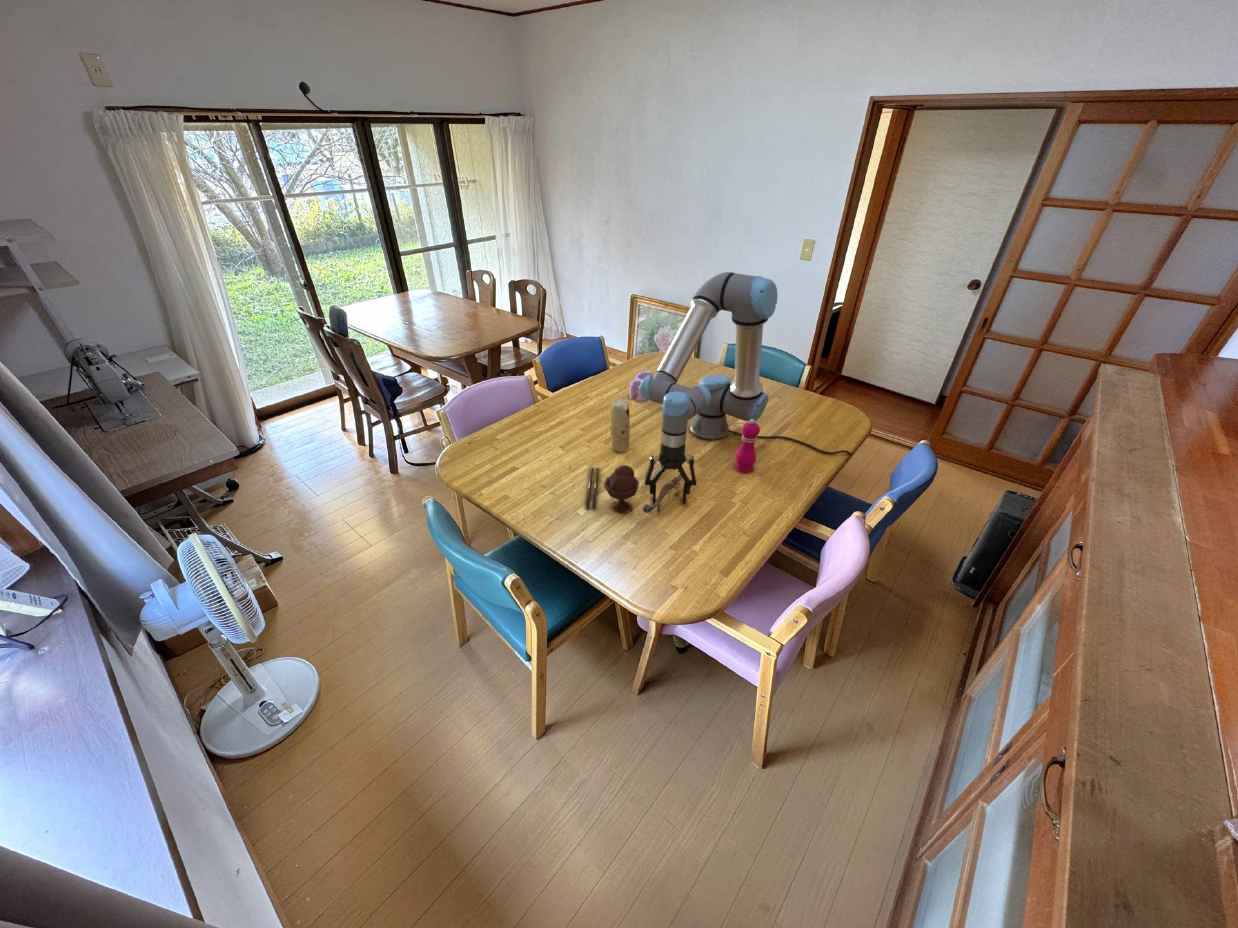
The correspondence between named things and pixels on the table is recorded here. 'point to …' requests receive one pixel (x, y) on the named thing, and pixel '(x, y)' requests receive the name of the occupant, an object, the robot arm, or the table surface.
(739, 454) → the pepper mill
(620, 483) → the ice cream bowl
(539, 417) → the table surface
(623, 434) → the food model
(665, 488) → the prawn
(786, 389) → the table surface
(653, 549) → the table surface
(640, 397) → the clip
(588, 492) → the chopsticks
